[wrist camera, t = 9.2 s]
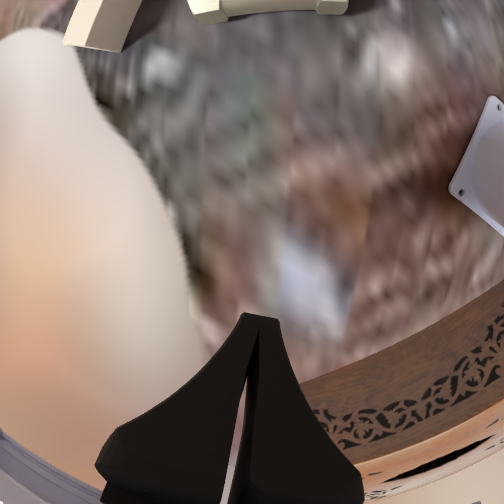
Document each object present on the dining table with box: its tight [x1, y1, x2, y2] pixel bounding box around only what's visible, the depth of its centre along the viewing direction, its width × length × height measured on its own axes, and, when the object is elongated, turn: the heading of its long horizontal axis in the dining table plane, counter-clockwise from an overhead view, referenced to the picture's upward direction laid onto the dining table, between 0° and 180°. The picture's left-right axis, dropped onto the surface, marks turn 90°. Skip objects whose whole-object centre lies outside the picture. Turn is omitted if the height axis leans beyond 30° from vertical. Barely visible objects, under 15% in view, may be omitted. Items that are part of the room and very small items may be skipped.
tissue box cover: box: [299, 280, 504, 503], centre depth 20 cm, size 26×14×10 cm, turn 126°
